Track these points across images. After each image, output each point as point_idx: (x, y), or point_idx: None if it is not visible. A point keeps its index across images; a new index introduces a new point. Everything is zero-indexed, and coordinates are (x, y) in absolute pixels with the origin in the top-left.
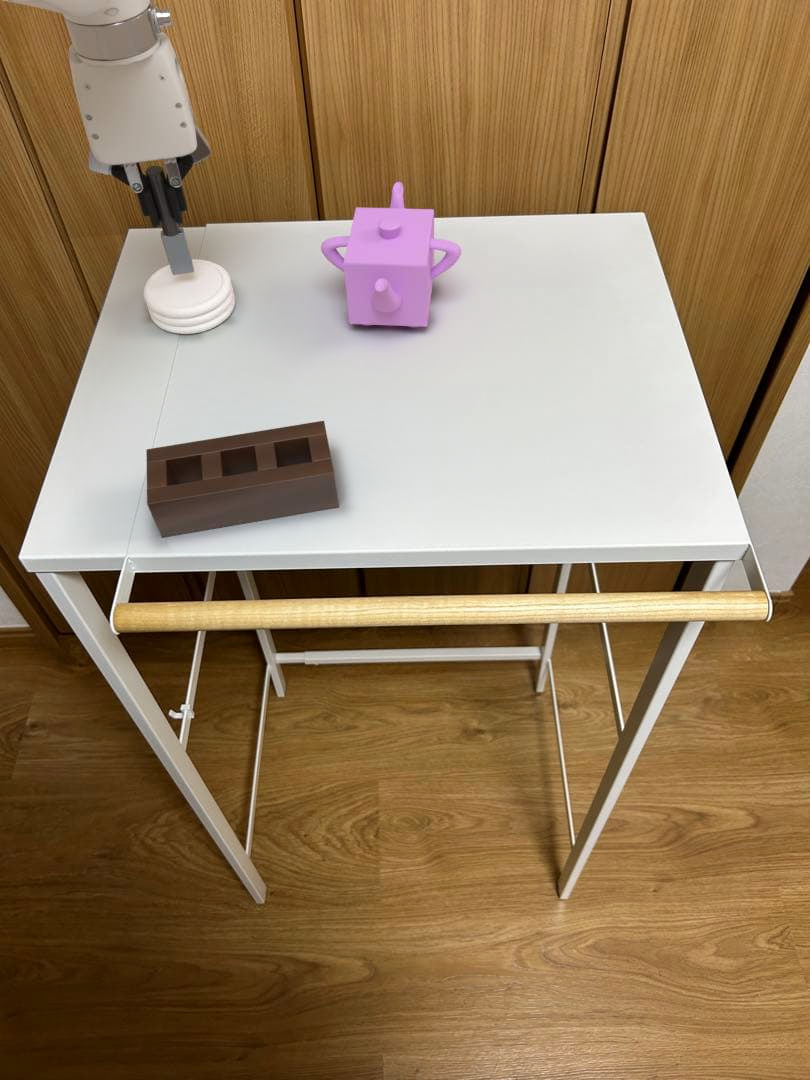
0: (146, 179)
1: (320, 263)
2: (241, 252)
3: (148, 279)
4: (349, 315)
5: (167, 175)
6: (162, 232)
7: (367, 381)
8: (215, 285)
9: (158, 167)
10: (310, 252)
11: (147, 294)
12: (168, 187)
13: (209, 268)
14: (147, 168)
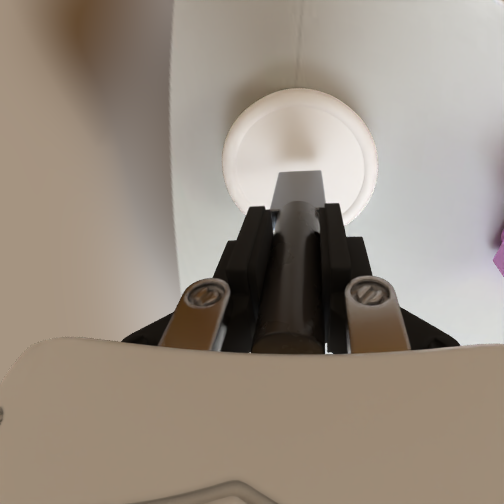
0: (249, 314)
1: (494, 97)
2: (379, 21)
3: (227, 146)
4: (498, 268)
5: (334, 333)
6: (274, 218)
7: (468, 315)
8: (352, 184)
9: (305, 345)
10: (484, 64)
11: (232, 190)
12: (328, 341)
13: (342, 130)
14: (258, 344)
